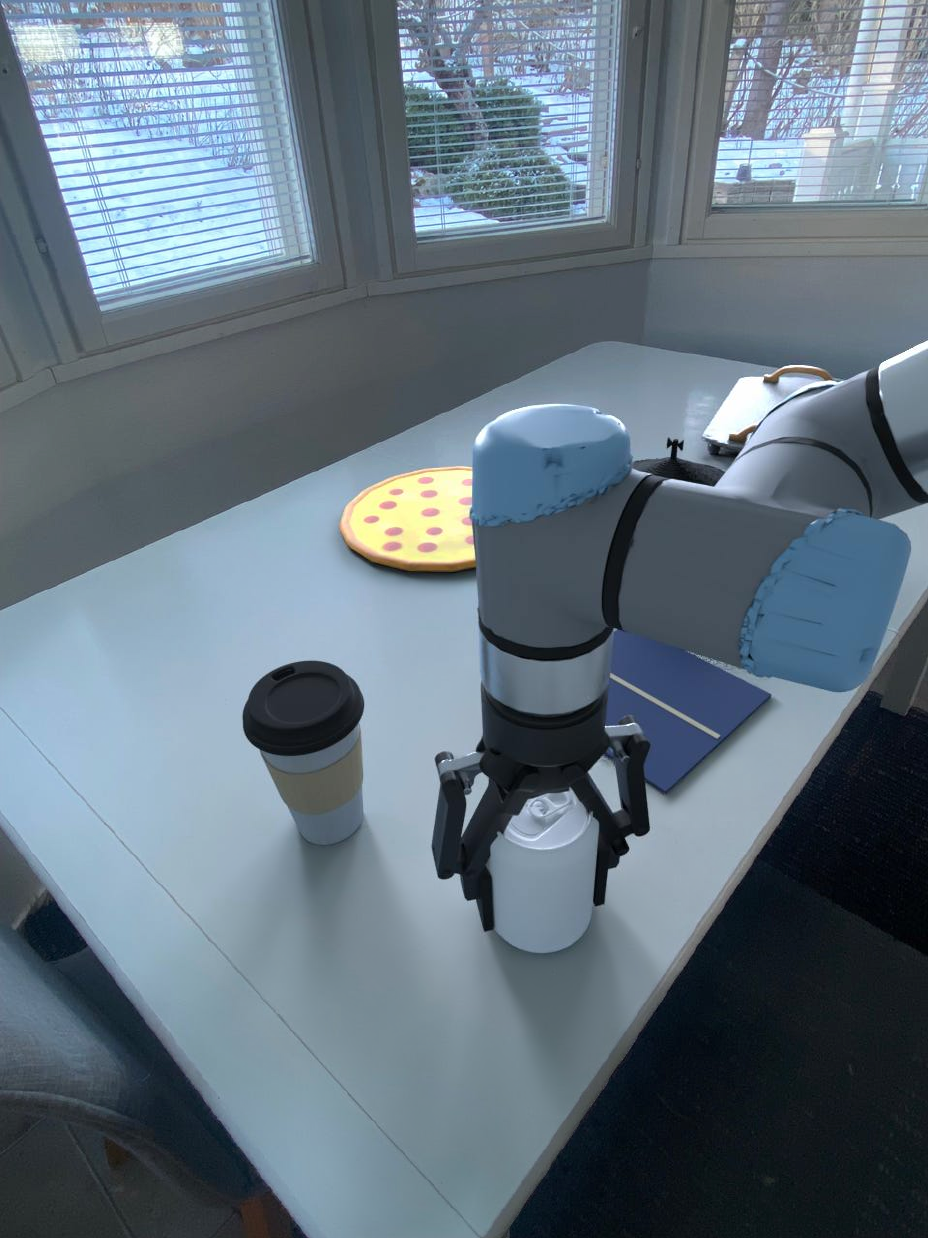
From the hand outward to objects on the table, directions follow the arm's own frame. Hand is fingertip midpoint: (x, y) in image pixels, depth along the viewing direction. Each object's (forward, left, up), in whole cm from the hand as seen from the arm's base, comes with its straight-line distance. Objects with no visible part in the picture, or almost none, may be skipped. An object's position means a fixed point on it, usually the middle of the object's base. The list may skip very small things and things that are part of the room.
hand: (539, 902), depth 56 cm
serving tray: (+34, -100, -1) cm, 106 cm away
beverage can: (0, 0, -1) cm, 1 cm away
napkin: (+9, -25, -1) cm, 27 cm away
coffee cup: (+19, +7, -1) cm, 20 cm away
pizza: (+54, -37, -1) cm, 65 cm away
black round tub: (+26, -52, -1) cm, 58 cm away
